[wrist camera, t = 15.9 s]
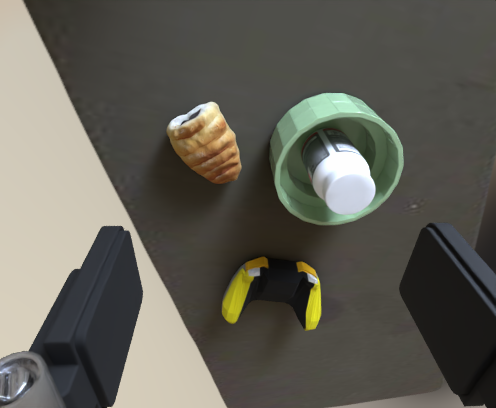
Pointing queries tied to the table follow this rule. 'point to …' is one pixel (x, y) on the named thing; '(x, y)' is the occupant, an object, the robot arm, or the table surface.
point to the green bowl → (360, 134)
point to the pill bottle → (337, 171)
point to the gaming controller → (275, 289)
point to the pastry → (206, 143)
